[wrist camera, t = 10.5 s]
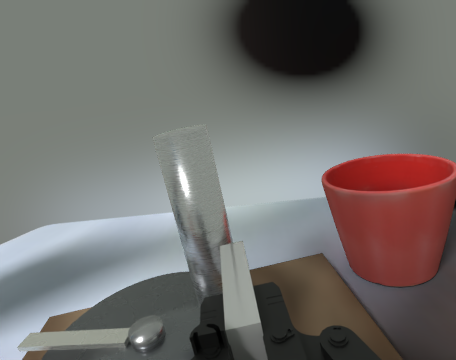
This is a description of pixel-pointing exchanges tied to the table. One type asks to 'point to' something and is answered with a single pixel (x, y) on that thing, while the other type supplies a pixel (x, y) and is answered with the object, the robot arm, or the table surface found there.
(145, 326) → the wheel
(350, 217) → the flower pot
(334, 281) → the walnut base board
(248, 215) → the table surface
